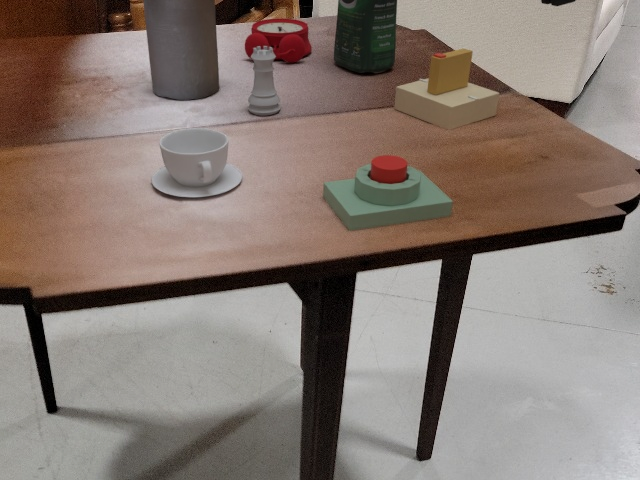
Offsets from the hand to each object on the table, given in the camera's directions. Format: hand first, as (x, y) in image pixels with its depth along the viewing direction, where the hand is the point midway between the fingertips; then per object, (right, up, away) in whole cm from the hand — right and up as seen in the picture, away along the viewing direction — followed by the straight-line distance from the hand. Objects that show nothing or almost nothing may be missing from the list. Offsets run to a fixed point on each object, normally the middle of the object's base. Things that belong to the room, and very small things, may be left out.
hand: (558, 2), depth 67 cm
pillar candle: (-39, +6, +39) cm, 56 cm away
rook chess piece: (-28, +1, +32) cm, 42 cm away
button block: (-15, -17, +9) cm, 24 cm away
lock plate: (-4, 0, +31) cm, 31 cm away
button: (-15, -14, +7) cm, 22 cm away
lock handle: (-4, +3, +29) cm, 30 cm away
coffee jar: (-13, +13, +48) cm, 51 cm away
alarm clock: (-26, +17, +53) cm, 61 cm away
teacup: (-35, -13, +14) cm, 40 cm away
